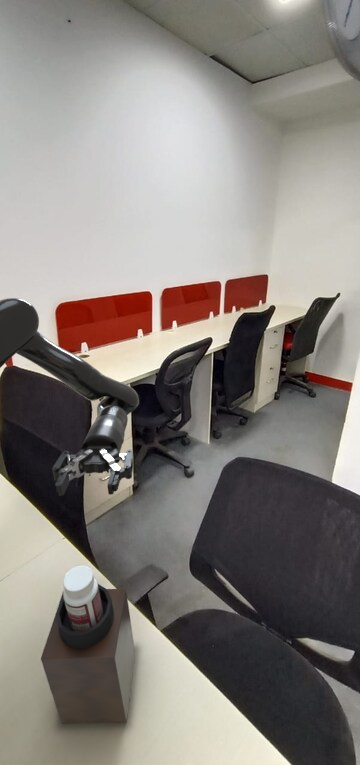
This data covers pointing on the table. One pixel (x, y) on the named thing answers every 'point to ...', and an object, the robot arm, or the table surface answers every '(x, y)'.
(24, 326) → the robot arm
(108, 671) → the stand
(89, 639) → the collar
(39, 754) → the table surface
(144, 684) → the table surface
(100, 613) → the pill bottle
